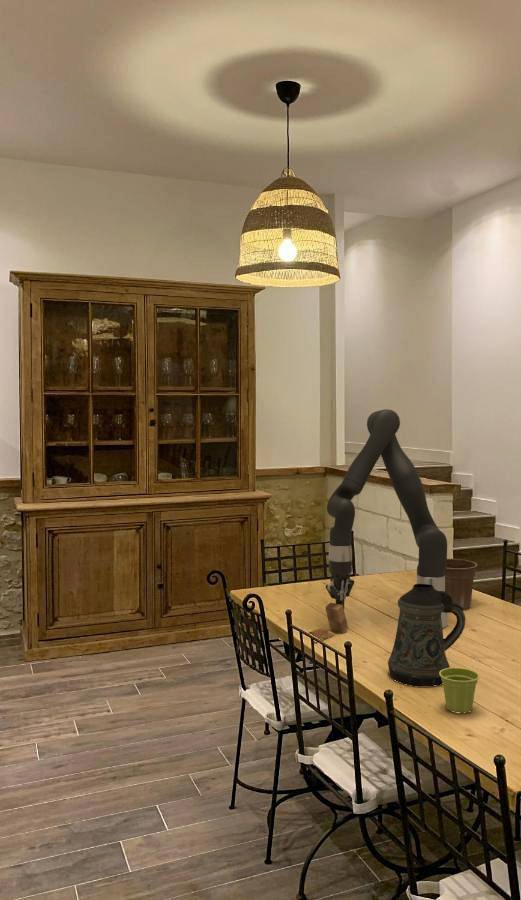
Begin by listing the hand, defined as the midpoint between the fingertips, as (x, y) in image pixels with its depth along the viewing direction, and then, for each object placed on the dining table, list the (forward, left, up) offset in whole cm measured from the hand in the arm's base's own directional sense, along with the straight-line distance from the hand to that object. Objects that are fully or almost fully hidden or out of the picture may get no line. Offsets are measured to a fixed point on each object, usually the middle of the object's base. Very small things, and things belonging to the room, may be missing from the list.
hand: (340, 610), depth 241 cm
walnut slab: (0, +1, -6) cm, 6 cm away
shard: (0, +9, -7) cm, 12 cm away
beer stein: (-41, +18, -7) cm, 45 cm away
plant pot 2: (-59, +32, -7) cm, 68 cm away
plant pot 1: (-13, -51, -7) cm, 54 cm away
